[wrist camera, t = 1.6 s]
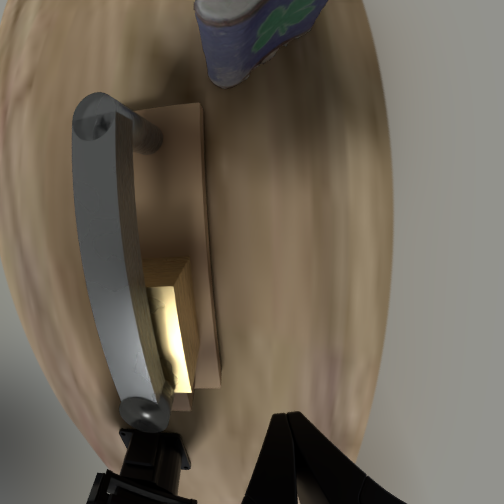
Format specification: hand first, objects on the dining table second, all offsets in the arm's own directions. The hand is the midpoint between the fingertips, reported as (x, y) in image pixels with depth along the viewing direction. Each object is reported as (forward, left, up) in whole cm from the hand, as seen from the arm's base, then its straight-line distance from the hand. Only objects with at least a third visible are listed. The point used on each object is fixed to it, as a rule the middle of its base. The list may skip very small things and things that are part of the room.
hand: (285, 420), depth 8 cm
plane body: (+2, +6, -12) cm, 14 cm away
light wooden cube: (0, +6, -10) cm, 12 cm away
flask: (+17, -1, -12) cm, 21 cm away
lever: (+3, +6, -10) cm, 12 cm away
